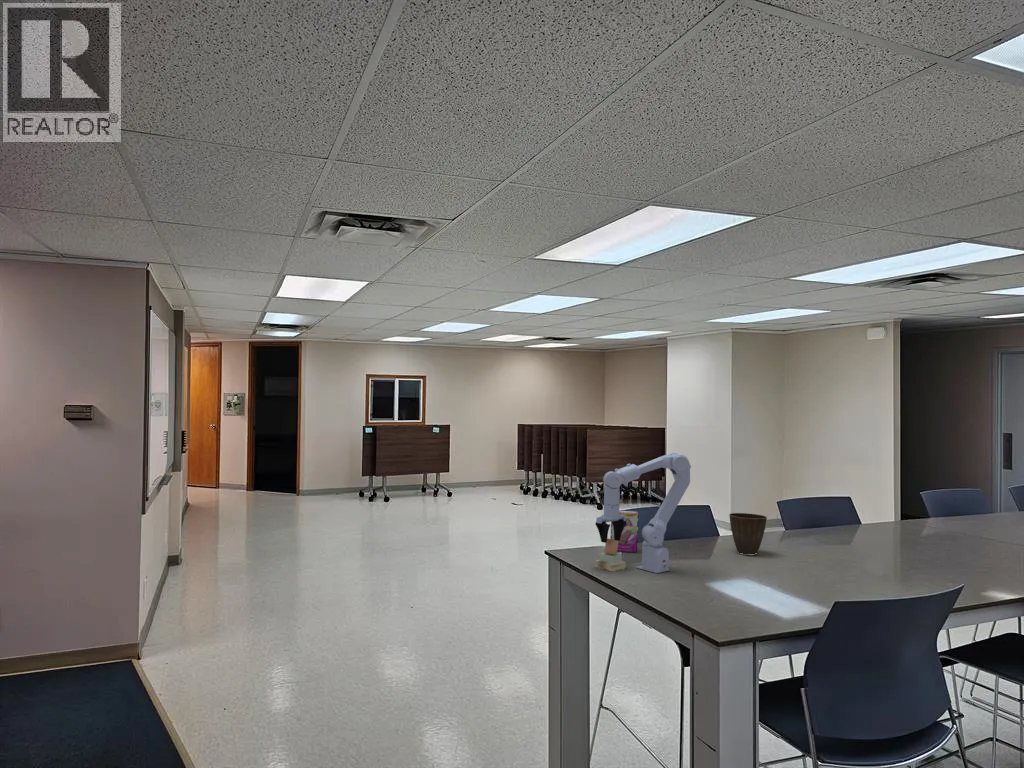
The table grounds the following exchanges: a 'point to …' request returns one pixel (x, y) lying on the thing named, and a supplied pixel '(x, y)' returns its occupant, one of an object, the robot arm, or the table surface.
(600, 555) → the tower top
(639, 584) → the table surface
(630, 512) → the candy bar box
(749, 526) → the plant pot
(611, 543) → the terracotta cylinder
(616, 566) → the tower base
